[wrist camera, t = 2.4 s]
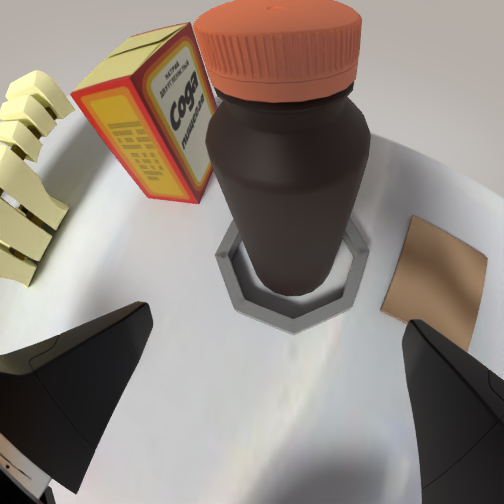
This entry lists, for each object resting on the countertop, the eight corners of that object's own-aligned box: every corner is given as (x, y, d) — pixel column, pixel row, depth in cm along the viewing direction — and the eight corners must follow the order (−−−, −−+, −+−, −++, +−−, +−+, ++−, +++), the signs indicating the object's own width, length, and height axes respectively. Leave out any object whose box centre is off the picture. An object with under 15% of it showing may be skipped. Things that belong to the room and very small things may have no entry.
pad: (464, 351, 18) (467, 351, 17) (379, 310, 21) (381, 309, 20) (485, 259, 20) (487, 258, 20) (411, 217, 23) (413, 215, 23)
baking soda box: (198, 204, 27) (127, 73, 13) (147, 198, 29) (67, 91, 14) (226, 138, 31) (189, 18, 16) (179, 137, 32) (130, 33, 17)
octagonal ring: (383, 292, 21) (388, 287, 20) (252, 351, 21) (249, 350, 20) (322, 184, 26) (323, 175, 25) (208, 229, 26) (203, 221, 25)
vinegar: (346, 257, 23) (425, 24, 5) (293, 314, 22) (289, 82, 4) (291, 211, 25) (271, -15, 7) (238, 260, 24) (126, 40, 6)
